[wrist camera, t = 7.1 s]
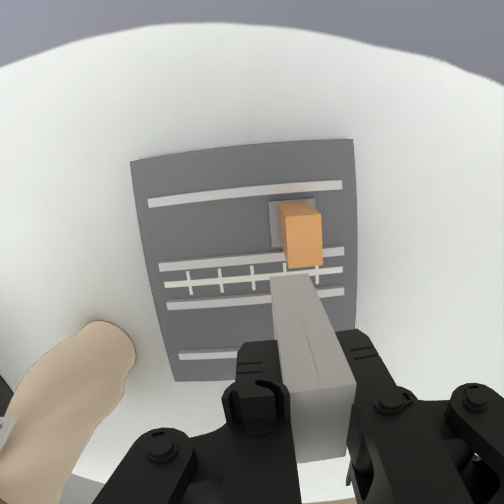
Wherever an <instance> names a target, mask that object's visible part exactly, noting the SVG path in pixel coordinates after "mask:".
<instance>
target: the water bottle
mask: <svg viewBox="0 0 504 504" xmlns="http://www.w3.org/2000/svg"><path fill="white" fill-rule="evenodd" d="M135 360H136V353H135V348H134V345H133V343H132V341H131V339H130V338H129V336H128V335H127V334H126V333H125V332H124V331H123V330H122V329H120V328H119V327H117V326H115V325H113V324H111V323H109V322H105V321H92V322H90V323H88V324H86V325H85V326H84V327H83V328H82V329H81V330H80V331H79V332H78V333H77V334H75V335H73V336H71V337H69V338H67V339H66V340H64V341H62V342H60V343H59V344H57V345H56V346H54V347H53V348H52V349H50V350H49V351H48V352H47V353H45V354H44V355H43V356H42V357H41V358H40V359H39V360H38V361H37V362H36V363H35V364H34V365H33V366H32V367H31V368H30V369H29V370H28V372H27V373H26V374H25V376H24V377H23V379H22V380H21V382H20V384H19V385H18V387H17V389H16V391H15V393H14V395H13V397H12V399H11V402H10V404H9V406H8V409H7V411H6V414H5V416H4V417H0V504H59V502H60V498H61V493H62V490H63V487H64V485H65V483H66V481H67V480H68V478H69V476H70V474H71V472H72V470H73V468H74V466H75V464H76V462H77V460H78V459H79V457H80V455H81V453H82V451H83V450H84V448H85V446H86V444H87V443H88V441H89V439H90V437H91V436H92V434H93V432H94V430H95V429H96V427H97V426H98V424H99V423H100V422H101V421H102V420H103V419H105V418H106V417H107V416H108V415H109V414H110V413H111V412H112V411H113V410H114V409H115V407H116V406H117V404H118V403H119V401H120V400H121V398H122V396H123V393H124V389H125V380H126V377H127V375H128V373H129V371H130V370H131V368H132V366H133V365H134V363H135Z"/></svg>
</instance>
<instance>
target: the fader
mask: <svg viewBox="0 0 504 504" xmlns="http://www.w3.org/2000/svg"><path fill="white" fill-rule="evenodd" d="M268 208H269V220H270V232H271V244H272V247H281V246H282V249H283V252H284V255H285V258H286V261H287V265H288V268H300V267H310V266H320V265H323V251H322V224H321V214H320V213H319V212H318V211H317V210H316V208H315V198H314V197H307V198H293V199H281V200H269V201H268Z"/></svg>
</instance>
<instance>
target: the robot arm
mask: <svg viewBox="0 0 504 504" xmlns="http://www.w3.org/2000/svg"><path fill="white" fill-rule="evenodd" d="M270 288H271V301H272V313H273V326H274V339H275V340H266V341H254V342H244V344H243V345H242V346H241V348H240V349H239V350H238V352H237V362H236V364H237V365H236V376H235V382H234V383H232V384H231V385H230V386H229V387H228V388H227V389H226V390H225V391H224V394H223V396H222V398H221V399H222V404H223V409H224V413H225V417H226V422H227V423H226V424H224V425H223V426H222V427H221V428H219V429H217V430H215V431H213V432H210V433H207V434H204V435H199V436H195V437H191V438H189V437H188V436H187V435H186V434H185V433H184V432H182V431H179V430H177V429H174V428H158V429H153V430H150V431H148V432H146V433H144V434H142V435H141V436H140V437H139V438H138V439H137V440H136V441H135V442H134V444H133V445H132V447H131V448H130V449H129V451H128V452H127V454H126V455H125V457H124V458H123V460H122V461H121V462H120V464H119V465H118V467H117V468H116V470H115V471H114V472H113V474H112V475H111V477H110V478H109V480H108V481H107V483H106V484H105V485H104V487H103V488H102V490H101V491H100V493H99V494H98V496H97V497H96V498H95V500H94V501H93V503H92V504H302V502H301V494H300V486H299V478H298V471H297V463H304V462H311V461H319V460H325V459H331V458H337V457H343V456H345V454H346V449H347V447H348V450H349V454H350V457H351V460H350V464H349V469H348V473H347V477H346V486H349V485H350V483H351V481H352V485H353V489H354V493H355V497H356V501H357V504H504V398H503V397H502V396H500V395H499V394H498V393H496V392H495V391H494V390H493V389H491V388H489V387H487V386H486V385H483V384H478V383H466V384H464V385H461V386H459V387H457V388H456V389H455V390H454V391H453V393H452V396H451V398H450V400H439V401H424V400H418V399H417V397H416V396H415V395H414V394H413V393H412V392H411V391H409V390H407V389H405V388H403V387H400V386H397V385H396V384H395V382H394V380H393V378H392V376H391V375H390V373H389V371H388V369H387V368H386V366H385V364H384V362H383V361H382V359H381V357H380V356H379V354H378V352H377V350H376V349H375V348H374V345H373V344H372V342H371V340H370V338H369V337H368V336H367V335H366V334H364V333H363V332H361V331H360V330H358V329H351V330H344V331H337V332H334V330H333V327H332V325H331V323H330V321H329V318H328V316H327V314H326V312H325V309H324V307H323V305H322V303H321V301H320V298H319V296H318V294H317V292H316V290H315V287H314V285H313V283H312V281H311V279H310V277H309V274H308V273H306V274H296V275H285V276H275V277H270ZM12 397H13V393H12V391H11V390H10V388H9V387H8V385H7V384H6V383H5V382H4V380H3V379H2V378H1V377H0V417H4V416H5V414H6V411H7V409H8V406H9V404H10V402H11V399H12ZM475 453H476V454H477V455H478V456H479V457H478V456H477V455H475Z"/></svg>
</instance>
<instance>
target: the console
mask: <svg viewBox="0 0 504 504" xmlns="http://www.w3.org/2000/svg"><path fill="white" fill-rule="evenodd" d="M130 167H131V175H132V183H133V190H134V197H135V204H136V210H137V217H138V223H139V229H140V234H141V240H142V246H143V251H144V256H145V261H146V266H147V271H148V276H149V281H150V285H151V290H152V295H153V299H154V303H155V308H156V312H157V316H158V320H159V324H160V328H161V332H162V336H163V340H164V344H165V347H166V351H167V355H168V358H169V362H170V365H171V369H172V372H173V376H174V379H175V381H220V380H235V376H236V365H237V364H236V362H237V352H238V350H239V349H240V348H241V346H242V345H243V344H244V342H254V341H266V340H275V339H274V326H273V313H272V301H271V288H270V277H275V276H285V275H296V274H306V273H308V274H309V277H310V279H311V281H312V283H313V285H314V287H315V290H316V292H317V294H318V296H319V298H320V301H321V303H322V305H323V307H324V309H325V312H326V314H327V316H328V318H329V321H330V323H331V325H332V327H333V330H334V332H337V331H344V330H351V329H355V316H356V294H357V199H356V177H355V160H354V146H353V139H334V140H308V141H290V142H275V143H263V144H251V145H241V146H232V147H223V148H214V149H206V150H199V151H191V152H184V153H178V154H171V155H165V156H159V157H153V158H147V159H142V160H136V161H131V162H130ZM307 197H314V198H315V208H316V210H317V211H318V212H319V213H320V214H321V224H322V251H323V265H320V266H310V267H300V268H288V265H287V261H286V258H285V255H284V252H283V249H282V246H281V247H272V244H271V232H270V220H269V208H268V201H269V200H281V199H293V198H307Z"/></svg>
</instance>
